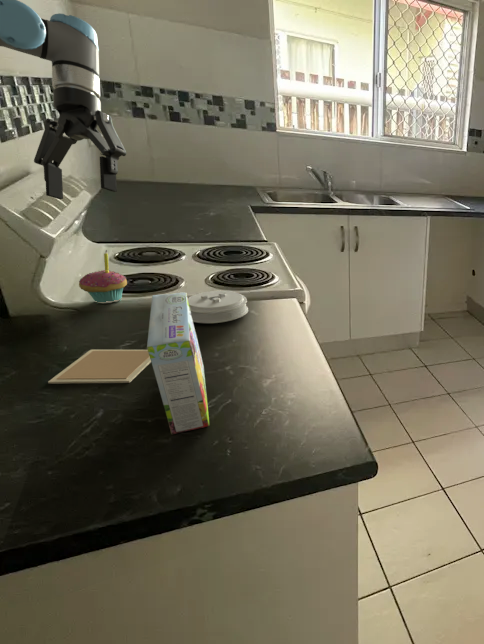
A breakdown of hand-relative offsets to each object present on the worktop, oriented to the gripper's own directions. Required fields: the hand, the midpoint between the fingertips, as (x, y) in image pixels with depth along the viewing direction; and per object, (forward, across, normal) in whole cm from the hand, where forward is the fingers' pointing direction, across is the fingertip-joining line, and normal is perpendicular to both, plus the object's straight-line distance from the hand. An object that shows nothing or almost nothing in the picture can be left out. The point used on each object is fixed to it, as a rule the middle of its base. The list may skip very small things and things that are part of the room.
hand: (81, 193), depth 100 cm
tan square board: (+37, -17, +10) cm, 42 cm away
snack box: (+44, -36, +14) cm, 58 cm away
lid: (+27, -20, -13) cm, 36 cm away
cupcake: (+21, +7, -11) cm, 25 cm away
